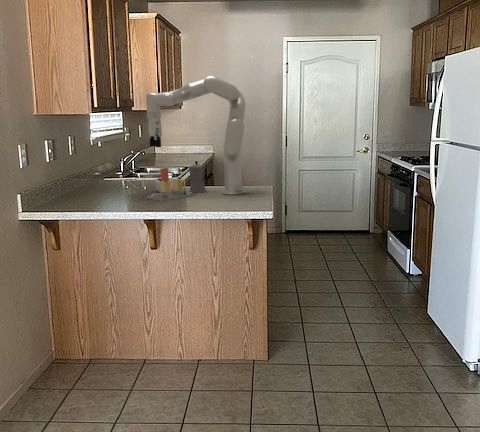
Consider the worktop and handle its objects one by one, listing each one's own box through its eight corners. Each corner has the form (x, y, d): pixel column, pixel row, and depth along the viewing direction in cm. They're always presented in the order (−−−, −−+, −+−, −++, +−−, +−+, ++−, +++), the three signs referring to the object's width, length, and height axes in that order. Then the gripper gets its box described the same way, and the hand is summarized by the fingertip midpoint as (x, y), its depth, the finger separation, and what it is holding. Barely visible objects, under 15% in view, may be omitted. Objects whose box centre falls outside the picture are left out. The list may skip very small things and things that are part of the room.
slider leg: (175, 194, 302) (173, 168, 299) (170, 195, 300) (168, 169, 297) (165, 193, 308) (164, 167, 305) (160, 193, 306) (159, 168, 303)
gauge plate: (195, 195, 309) (195, 179, 307) (161, 200, 292) (160, 184, 291) (180, 193, 318) (179, 178, 317) (146, 198, 302) (145, 182, 300)
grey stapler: (173, 193, 316) (166, 178, 313) (165, 197, 315) (159, 181, 312) (165, 190, 331) (159, 175, 328) (158, 193, 330) (152, 178, 327)
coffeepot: (204, 193, 315) (202, 162, 311) (187, 193, 315) (186, 162, 312) (207, 189, 330) (206, 159, 326) (192, 189, 330) (190, 160, 327)
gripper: (165, 115, 297) (166, 147, 300) (155, 115, 312) (157, 145, 315) (152, 115, 293) (153, 147, 297) (142, 115, 309) (144, 146, 312)
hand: (155, 146), depth 306 cm, fingers open, 9 cm apart
